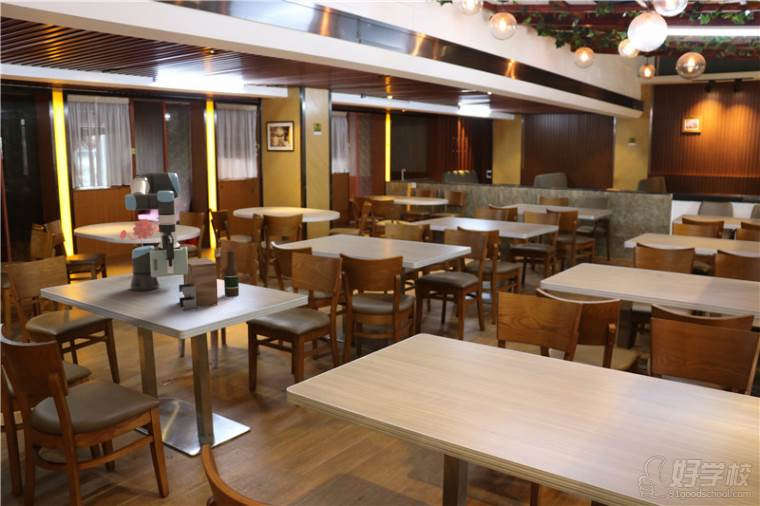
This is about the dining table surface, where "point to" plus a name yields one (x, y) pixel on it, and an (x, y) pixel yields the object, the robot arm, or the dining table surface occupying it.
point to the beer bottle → (231, 277)
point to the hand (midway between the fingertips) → (169, 272)
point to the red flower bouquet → (141, 230)
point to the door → (160, 262)
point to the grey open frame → (188, 302)
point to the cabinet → (203, 281)
